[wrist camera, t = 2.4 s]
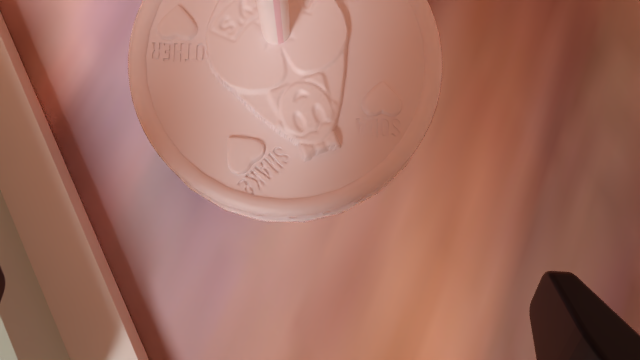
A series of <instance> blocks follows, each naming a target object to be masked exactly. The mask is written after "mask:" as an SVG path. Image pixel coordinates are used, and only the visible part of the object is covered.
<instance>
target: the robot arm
mask: <svg viewBox="0 0 640 360" xmlns="http://www.w3.org/2000/svg"><path fill="white" fill-rule="evenodd" d="M4 290H5V276H4V273H3V271H2V268H1V266H0V302H1V300H2V297H3V294H4ZM530 321H531V328H532V334H533V340H534V346H535V352H536V358H537V360H640V335H639V334H638V333H636V332H635V331H634V330H633V329H632V328H631V327H630V326H629V325H628V324H627V323H626V322H625V321H624V320H623V319H622V318H620V317H619V316H618V315H617V314H616V313H615V312H614V311H613V310H612V309H611V308H610V307H609V306H608V305H607V304H605V303H604V302H603V301H602V300H601V299H600V298H599V297H598V296H597V295H596V294H595V293H594V292H593V291H592V290H591V289H589V288H588V287H587V286H586V285H585V284H584V283H583V282H582V281H581V280H580V279H579V278H578V277H577V276H575V275H574V274H572V273H570V272H558V271H548V272H546V273H545V274H544V275H543V276H542V278H541V281H540V283H539V285H538V287H537V290H536V292H535V294H534V296H533V298H532V301H531V304H530Z"/></svg>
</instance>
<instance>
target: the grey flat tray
mask: <svg viewBox="0 0 640 360" xmlns="http://www.w3.org/2000/svg"><path fill="white" fill-rule="evenodd" d="M0 266H1V268H2V271H3V273H4V276H5V290H4V294H3V297H2V300H1V302H0V360H149V359H148V357H147V354H146V352H145V350H144V347H143V345H142V343H141V340H140V338H139V336H138V333H137V331H136V329H135V326H134V324H133V321H132V319H131V317H130V314H129V312H128V310H127V307H126V305H125V303H124V300H123V298H122V296H121V293H120V291H119V289H118V286H117V284H116V282H115V279H114V277H113V275H112V272H111V270H110V268H109V265H108V263H107V261H106V258H105V256H104V253H103V251H102V249H101V246H100V244H99V242H98V239H97V237H96V235H95V232H94V230H93V228H92V225H91V223H90V221H89V218H88V216H87V214H86V211H85V209H84V207H83V204H82V202H81V200H80V197H79V195H78V192H77V190H76V188H75V185H74V183H73V181H72V178H71V176H70V174H69V171H68V169H67V167H66V164H65V162H64V160H63V157H62V155H61V153H60V150H59V148H58V146H57V143H56V141H55V139H54V136H53V134H52V132H51V129H50V127H49V124H48V122H47V120H46V117H45V115H44V113H43V110H42V108H41V106H40V103H39V101H38V99H37V96H36V94H35V92H34V89H33V87H32V85H31V82H30V80H29V78H28V75H27V73H26V71H25V68H24V66H23V63H22V61H21V59H20V56H19V54H18V52H17V49H16V47H15V45H14V42H13V40H12V38H11V35H10V33H9V31H8V28H7V26H6V24H5V21H4V19H3V17H2V14H1V12H0Z"/></svg>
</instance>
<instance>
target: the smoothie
mask: <svg viewBox="0 0 640 360" xmlns="http://www.w3.org/2000/svg"><path fill="white" fill-rule="evenodd" d="M128 74H129V85H130V91H131V96H132V101H133V104H134V107H135V110H136V114H137V116H138V119H139V121H140V124H141V126H142V128H143V130H144V132H145V134H146V136H147V138H148V139H149V141H150V143H151V144H152V146H153V147H154V149H155V150H156V152H157V153H158V155H159V156H160V157H161V158H162V159H163V161H164V162H165V163H166V164H167V165H168V167H169V168H170V169H171V170H172V171H174V172H175V173H176V174H177V175H178V176H179V178H180V179H181V180H182V181H183V182H184V183H185V184H186V185H187V186H188V187H189V188H190V189H191V190H193V191H194V192H196V193H198V194H199V195H201V196H202V197H204V198H206V199H207V200H209V201H211V202H212V203H214V204H216V205H217V206H219V207H221V208H222V209H224V210H226V211H229V212H233V213H236V214H240V215H243V216H247V217H250V218H254V219H257V220H261V221H268V222H307V221H311V220H315V219H319V218H323V217H327V216H331V215H335V214H339V213H343V212H345V211H347V210H349V209H351V208H352V207H354V206H356V205H358V204H360V203H361V202H363V201H365V200H367V199H369V198H370V197H372V196H374V195H376V194H378V193H379V192H380V191H381V190H382V189H383V188H384V187H385V186H386V185H387V184H388V183H389V182H390V181H391V180H392V179H393V178H394V177H395V176H396V175H397V174H398V173H399V172H400V171H401V170H403V169H404V168H405V167H406V165H407V164H408V162H409V160H410V159H411V157H412V155H413V154H414V152H415V150H416V149H417V147H418V146H419V144H420V143H421V141H422V139H423V138H424V136H425V134H426V132H427V130H428V128H429V126H430V123H431V121H432V118H433V116H434V113H435V110H436V107H437V103H438V99H439V95H440V88H441V81H442V49H441V43H440V36H439V32H438V28H437V24H436V21H435V18H434V15H433V13H432V10H431V7H430V5H429V3H428V1H427V0H143V1H142V3H141V6H140V8H139V10H138V13H137V16H136V19H135V22H134V25H133V29H132V34H131V38H130V45H129V54H128Z"/></svg>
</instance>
